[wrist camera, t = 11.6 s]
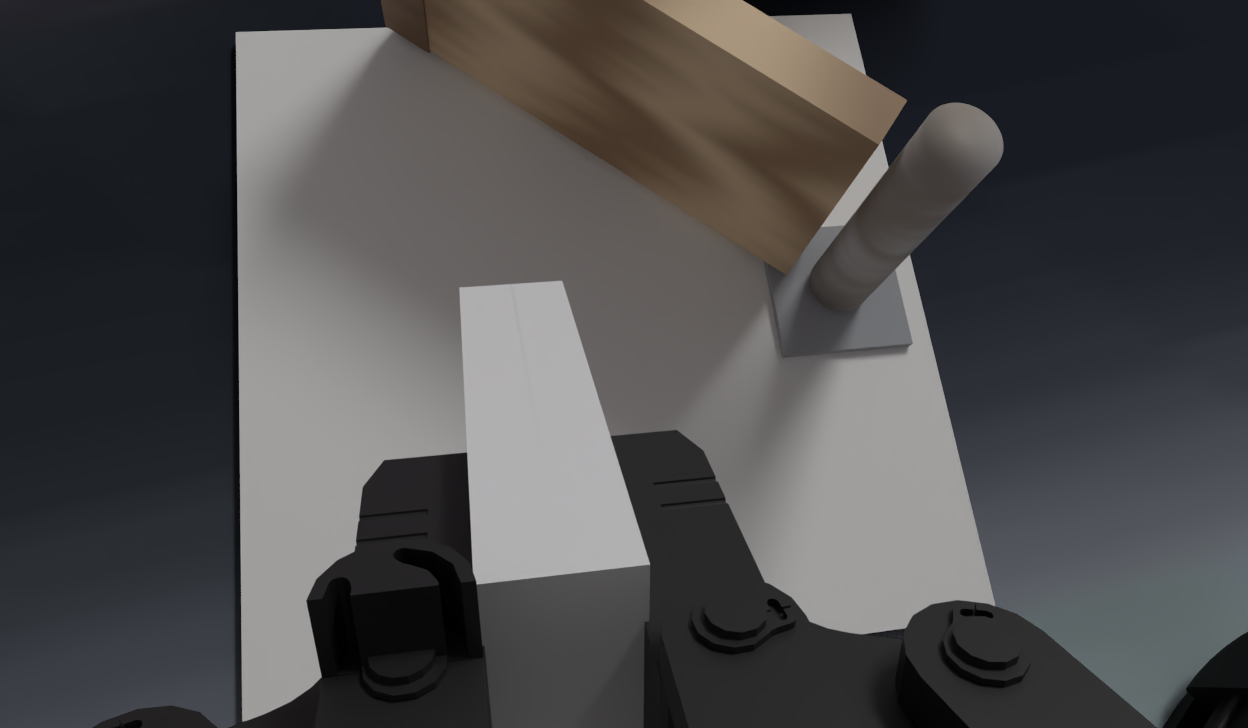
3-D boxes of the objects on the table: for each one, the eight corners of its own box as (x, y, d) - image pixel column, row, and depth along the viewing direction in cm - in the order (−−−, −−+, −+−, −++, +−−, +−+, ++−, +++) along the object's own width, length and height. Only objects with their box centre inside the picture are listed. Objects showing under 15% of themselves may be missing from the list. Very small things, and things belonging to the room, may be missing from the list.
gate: (877, 277, 31) (1015, 131, 23) (850, 323, 30) (982, 190, 22) (418, -10, 32) (389, -248, 24) (382, 29, 32) (339, -203, 23)
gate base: (847, 20, 35) (853, 8, 35) (991, 615, 29) (1002, 614, 28) (239, 39, 32) (233, 26, 31) (246, 720, 25) (239, 721, 25)
